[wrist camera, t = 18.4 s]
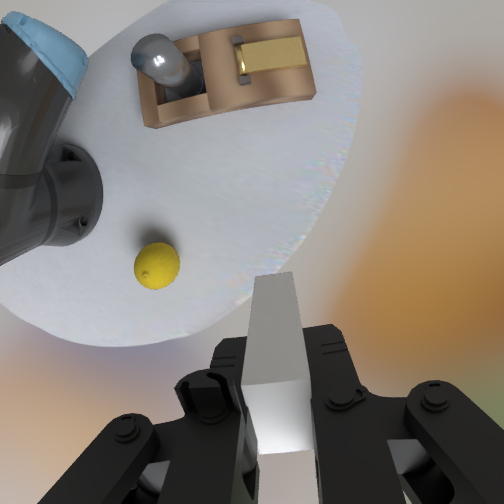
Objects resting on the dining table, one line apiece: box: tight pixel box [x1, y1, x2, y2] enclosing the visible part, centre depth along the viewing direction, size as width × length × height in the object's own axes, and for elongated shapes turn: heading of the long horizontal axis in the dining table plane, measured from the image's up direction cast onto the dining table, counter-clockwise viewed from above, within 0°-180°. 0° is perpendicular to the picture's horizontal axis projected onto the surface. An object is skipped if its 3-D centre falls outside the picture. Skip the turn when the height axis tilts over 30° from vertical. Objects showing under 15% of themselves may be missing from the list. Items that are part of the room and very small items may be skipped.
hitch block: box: [137, 19, 316, 129], centre depth 31 cm, size 20×10×5 cm, turn 100°
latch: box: [235, 37, 307, 76], centre depth 28 cm, size 7×4×1 cm, turn 99°
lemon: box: [134, 242, 180, 289], centre depth 37 cm, size 6×6×8 cm
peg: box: [131, 34, 203, 98], centre depth 27 cm, size 4×4×13 cm
